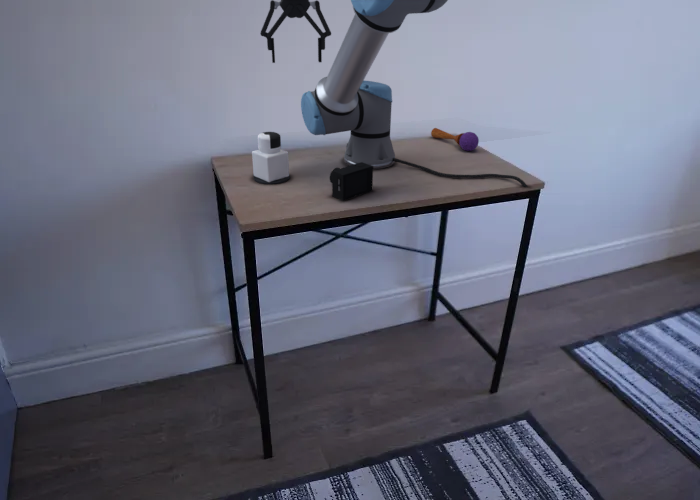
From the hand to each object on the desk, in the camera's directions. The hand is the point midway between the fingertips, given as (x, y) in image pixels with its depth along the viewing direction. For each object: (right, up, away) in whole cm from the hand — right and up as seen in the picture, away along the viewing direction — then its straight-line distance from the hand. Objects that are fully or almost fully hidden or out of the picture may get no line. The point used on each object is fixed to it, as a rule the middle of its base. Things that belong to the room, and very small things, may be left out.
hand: (296, 62), depth 155 cm
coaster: (-6, -36, -10) cm, 37 cm away
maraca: (+50, -21, +19) cm, 57 cm away
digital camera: (+16, -41, -19) cm, 48 cm away
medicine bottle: (-6, -35, -10) cm, 37 cm away
